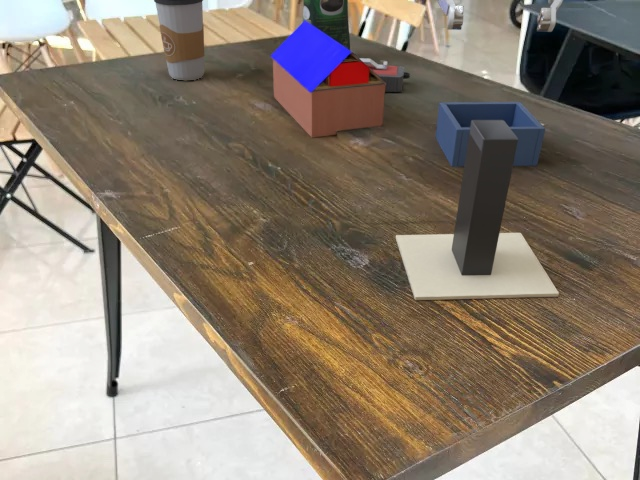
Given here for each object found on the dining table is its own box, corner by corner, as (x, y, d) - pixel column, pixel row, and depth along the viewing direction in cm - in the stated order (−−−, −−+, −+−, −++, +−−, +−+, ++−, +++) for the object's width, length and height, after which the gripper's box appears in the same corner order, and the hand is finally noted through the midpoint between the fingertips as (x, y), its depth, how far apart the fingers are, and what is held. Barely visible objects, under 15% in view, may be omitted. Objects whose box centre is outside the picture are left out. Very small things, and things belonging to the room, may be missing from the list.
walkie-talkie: (409, 79, 119) (301, 73, 121) (411, 54, 116) (301, 48, 118) (408, 94, 112) (294, 88, 114) (410, 67, 109) (293, 62, 111)
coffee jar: (340, 52, 133) (342, -51, 122) (354, 62, 127) (359, -45, 116) (295, 56, 130) (294, -49, 119) (308, 66, 124) (308, -43, 113)
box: (512, 139, 95) (520, 101, 92) (536, 169, 87) (545, 128, 83) (434, 140, 94) (439, 102, 91) (451, 170, 86) (456, 129, 83)
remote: (481, 249, 69) (505, 119, 60) (493, 275, 65) (520, 139, 56) (450, 250, 69) (470, 119, 60) (461, 275, 65) (483, 139, 56)
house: (337, 90, 113) (339, 17, 106) (385, 129, 98) (391, 48, 91) (271, 96, 110) (269, 22, 103) (310, 138, 95) (310, 55, 88)
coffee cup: (155, 75, 119) (142, -16, 110) (193, 67, 123) (184, -21, 114) (180, 86, 114) (169, -8, 105) (219, 77, 118) (211, -14, 109)
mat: (520, 235, 72) (520, 232, 72) (558, 296, 62) (559, 293, 62) (395, 238, 71) (395, 235, 71) (414, 300, 62) (415, 297, 61)
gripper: (408, -116, 67) (402, 6, 65) (609, -114, 66) (610, 10, 64) (403, -71, 73) (398, 42, 71) (587, -69, 72) (588, 46, 70)
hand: (500, 27), depth 68 cm, fingers open, 8 cm apart
